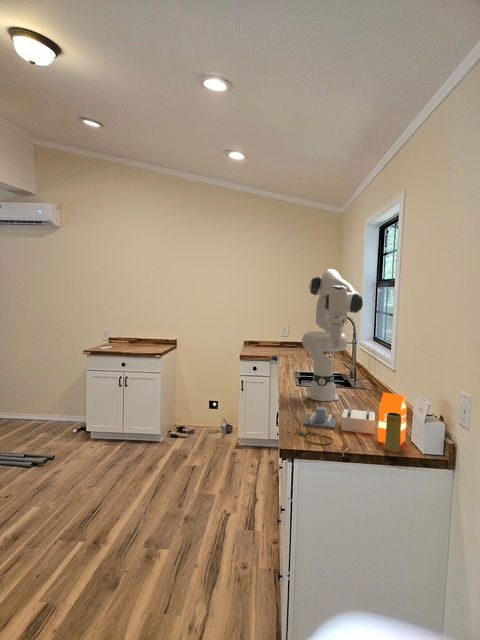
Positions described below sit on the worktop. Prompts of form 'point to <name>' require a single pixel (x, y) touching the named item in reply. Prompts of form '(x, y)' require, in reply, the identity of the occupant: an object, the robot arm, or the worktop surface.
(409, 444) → the worktop surface
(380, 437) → the orange juice
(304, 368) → the worktop surface
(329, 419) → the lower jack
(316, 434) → the coiled cable
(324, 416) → the plug
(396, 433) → the vase
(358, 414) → the block
